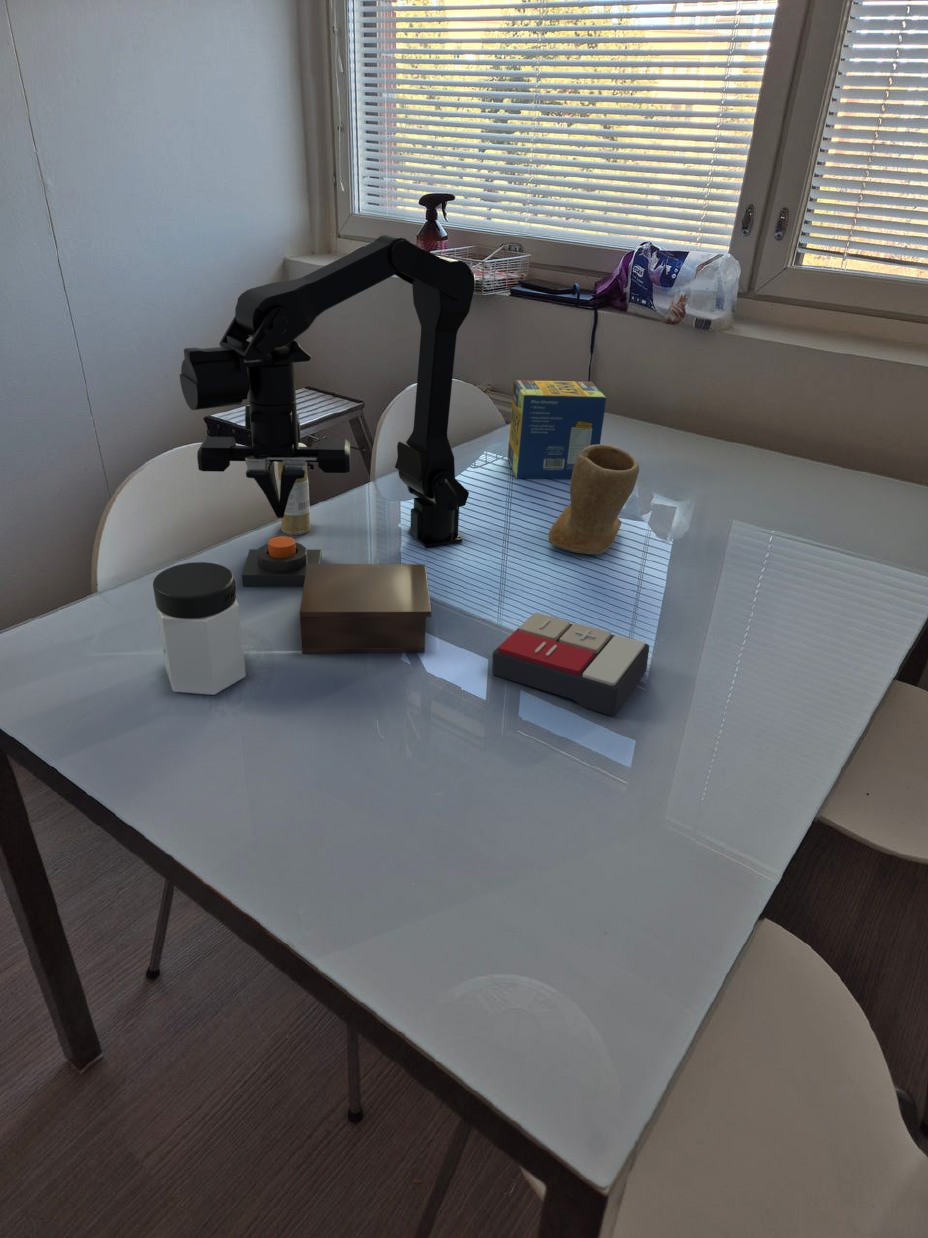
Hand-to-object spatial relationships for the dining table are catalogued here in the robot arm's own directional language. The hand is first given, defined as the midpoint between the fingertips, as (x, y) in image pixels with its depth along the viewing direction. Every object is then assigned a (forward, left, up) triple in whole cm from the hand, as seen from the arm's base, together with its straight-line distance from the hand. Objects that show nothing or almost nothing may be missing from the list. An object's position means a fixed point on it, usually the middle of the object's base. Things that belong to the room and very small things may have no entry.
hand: (280, 516), depth 109 cm
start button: (0, 0, -5) cm, 5 cm away
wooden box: (-5, +17, -8) cm, 20 cm away
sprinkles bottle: (-6, -14, -9) cm, 17 cm away
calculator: (-23, +36, -9) cm, 44 cm away
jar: (+15, +20, -9) cm, 27 cm away
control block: (0, 0, -9) cm, 9 cm away
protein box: (-59, -24, -9) cm, 64 cm away
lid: (-5, +18, -4) cm, 19 cm away
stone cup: (-47, +6, -9) cm, 48 cm away
